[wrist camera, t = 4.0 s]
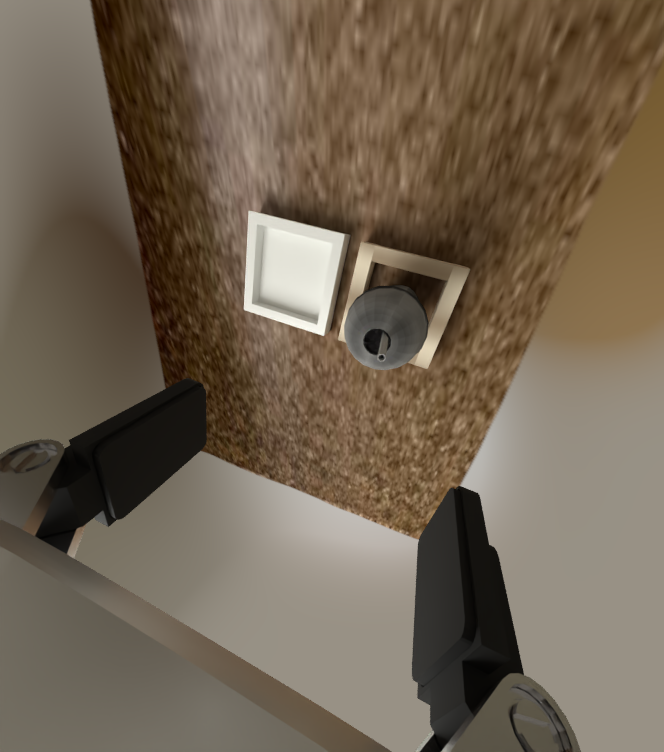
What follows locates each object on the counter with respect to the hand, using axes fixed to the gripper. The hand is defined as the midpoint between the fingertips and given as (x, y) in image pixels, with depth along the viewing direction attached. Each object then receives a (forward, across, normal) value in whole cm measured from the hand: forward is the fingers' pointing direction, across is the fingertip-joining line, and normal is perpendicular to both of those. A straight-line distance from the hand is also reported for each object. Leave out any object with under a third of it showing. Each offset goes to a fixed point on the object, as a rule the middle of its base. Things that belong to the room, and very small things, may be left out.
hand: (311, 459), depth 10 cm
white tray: (+28, +14, -1) cm, 32 cm away
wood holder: (+28, 0, -1) cm, 28 cm away
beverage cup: (+28, 0, -1) cm, 29 cm away
